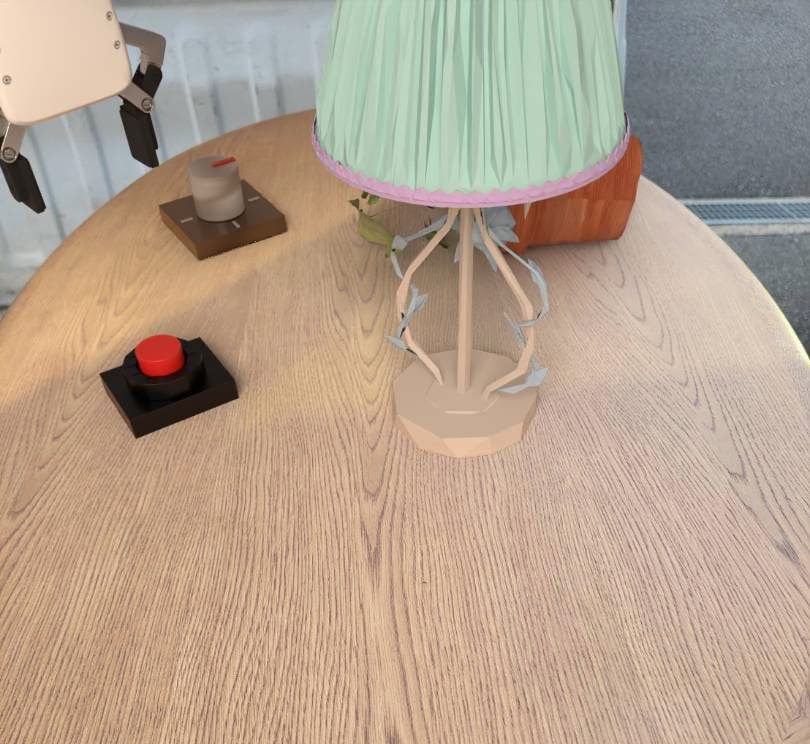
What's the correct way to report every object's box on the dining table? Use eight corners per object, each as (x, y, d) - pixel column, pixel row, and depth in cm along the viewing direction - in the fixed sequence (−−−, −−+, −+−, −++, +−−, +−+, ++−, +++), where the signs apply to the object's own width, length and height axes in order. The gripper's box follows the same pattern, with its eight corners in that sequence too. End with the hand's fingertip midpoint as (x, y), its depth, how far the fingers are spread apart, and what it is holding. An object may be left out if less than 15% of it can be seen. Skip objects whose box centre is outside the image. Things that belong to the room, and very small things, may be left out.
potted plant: (602, 222, 103) (305, 203, 102) (636, 89, 91) (299, 66, 90) (618, 303, 93) (289, 283, 92) (658, 167, 81) (280, 142, 80)
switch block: (136, 439, 77) (123, 404, 74) (105, 392, 81) (92, 357, 78) (239, 398, 80) (231, 363, 77) (204, 355, 85) (195, 320, 82)
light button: (149, 383, 76) (144, 366, 75) (133, 360, 79) (128, 344, 77) (192, 367, 78) (187, 350, 76) (174, 345, 80) (170, 329, 79)
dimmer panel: (199, 261, 97) (194, 243, 95) (162, 221, 103) (157, 203, 101) (287, 231, 100) (284, 214, 99) (246, 194, 107) (243, 177, 105)
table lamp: (619, 375, 81) (721, -179, 51) (527, 529, 68) (593, -86, 38) (412, 317, 88) (397, -196, 58) (295, 447, 75) (199, -123, 46)
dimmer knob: (208, 226, 97) (198, 180, 94) (188, 206, 101) (178, 161, 97) (253, 212, 99) (245, 166, 95) (232, 193, 103) (224, 148, 99)
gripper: (99, -119, 60) (162, 133, 73) (-156, -61, 53) (-36, 208, 65) (156, -103, 56) (212, 160, 69) (-111, -39, 49) (8, 243, 61)
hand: (91, 184), depth 67 cm, fingers open, 9 cm apart
